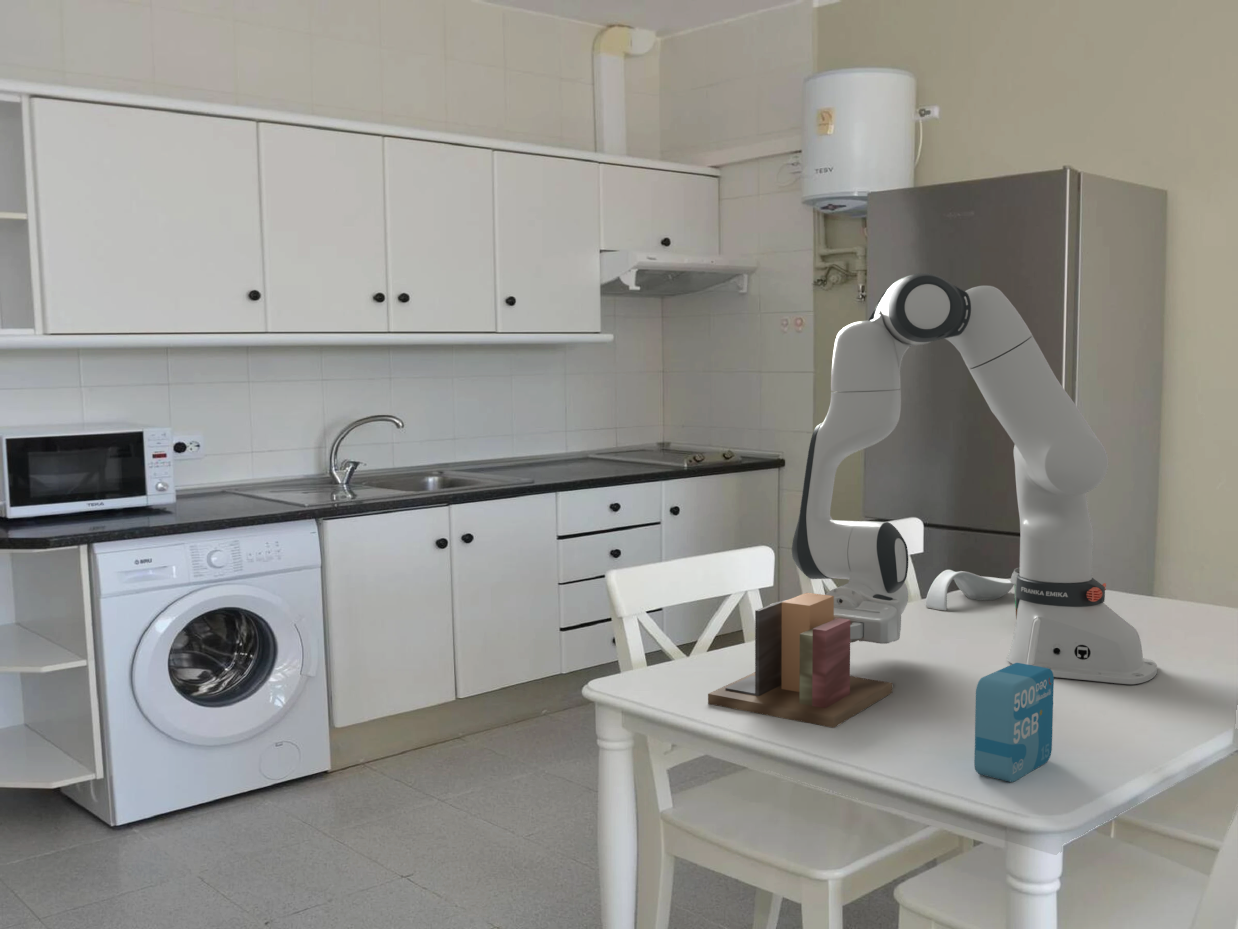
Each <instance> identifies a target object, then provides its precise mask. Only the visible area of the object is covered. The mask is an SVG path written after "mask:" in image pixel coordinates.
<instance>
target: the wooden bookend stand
mask: <svg viewBox="0 0 1238 929" xmlns="http://www.w3.org/2000/svg"><path fill="white" fill-rule="evenodd" d="M783 601H784V600H779V601H776V602H777V603H776V602H773V603H774V604H773V603H770V604H771V605H770V604H769V605H766V606H764V607H760V608H758V609H755V612H754V617H755V618H754V620H755V621H754V622H755V623H754V626H755V628H754V631H755V632H754V634H755V635H754V638H755V639H754V641H755V642H754V644H755V645H754V646H755V647H754V649H755V650H754V651H755V653H754V661H755V662H754V663H755V664H754V666H755V667H754V668H755V669H754V672H753V673H750V674H748V675H746V676H744V677H741V678H739V679H737V680H735V681H733V682H731V683H728V684H726V685H724V686H722V687H720V688H717V689H715V690H713V691H711V692H709V693H707V704H708V705H714V706H718V707H724V708H728V709H733V710H739V711H744V712H749V713H755V714H759V715H765V716H770V717H776V718H781V719H785V720H791V721H797V722H802V723H808V724H811V725H812V724H813V725H817V726H822V727H828V728H834V729H835V728H836V727H838V726H840V725H841V724H843V723H844V722H846V721H848V720H849V719H851V718H853V717H855V716H856V715H857V714H859V713H861V712H862V711H864V710H866V709H868V708H870V707H871V706H873V705H875V704H876V703H878V702H879V701H881V700H883V699H884V698H886V697H888V696H889V695H891V694H892V693H893V682H890V681H889V682H888V681H883V680H878V679H871V678H864V677H858V676H851V643H850V620H849V619H841V618H837V619H834V620H832V621H830V622H827V623H824V624H822V625H819V626H817V627H815V628H812V629H810V630H808V631H806V632H803V633H801V634H800V686H799V692H796V691H791V690H785V689H782V602H783Z"/></svg>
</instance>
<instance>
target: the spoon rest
mask: <svg viewBox="0 0 1238 929" xmlns="http://www.w3.org/2000/svg"><path fill="white" fill-rule="evenodd" d="M953 580H954V583H955V584H956V586H957V588H958V589H959V590H960V591H961V592H962V593H963V594H964V595H965V596H966V597H967V598H969V599H970V600H976V601H977V600H978V601H982V600H983V601H994V600H998V599H999V598H1002V597H1003V596H1005V595H1008V593H1009V592H1010V591H1011V590H1012V589H1013V587H1014V584H1013V583H1011V579H1007V578H1002V577H1001V578H1000V577H999V578H998V577H993V576H982V575H981V576H980V575H978V574H975V573H973V572H969V571H962V570H960V571H954V570H952V569H945V570H943V571H941V573H939V574H938V575H937V576H936V578H935V579H934V580H933V582H932V584H931V585H930V587H929V590H928V592H927V594H926V598H925V604H924V605H925V607H926V608H927V609H933V610H937V611H938V610H939V611H947V610H948V598H947V597H948V589H949V586H950V584H951V583H952V582H953Z"/></svg>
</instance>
